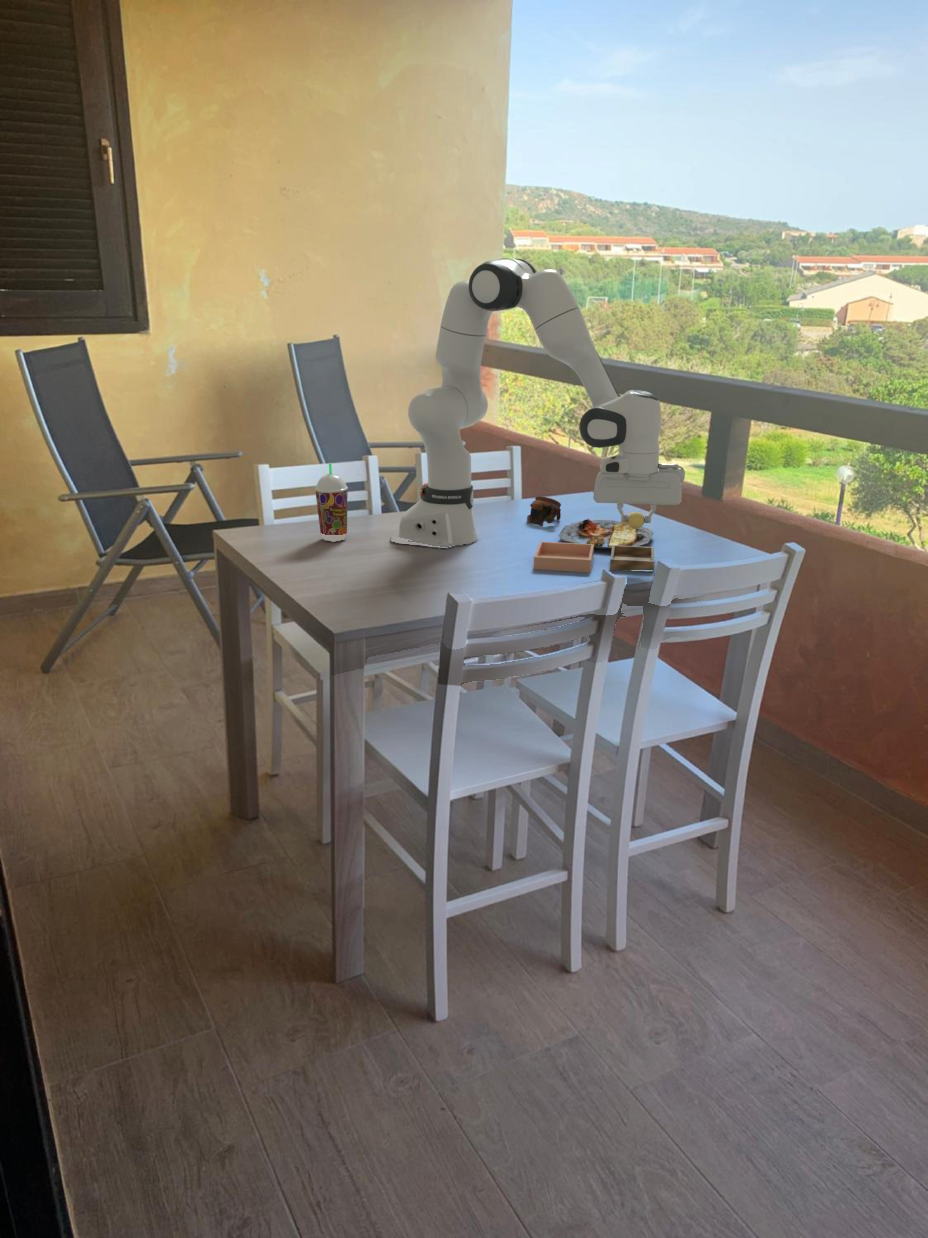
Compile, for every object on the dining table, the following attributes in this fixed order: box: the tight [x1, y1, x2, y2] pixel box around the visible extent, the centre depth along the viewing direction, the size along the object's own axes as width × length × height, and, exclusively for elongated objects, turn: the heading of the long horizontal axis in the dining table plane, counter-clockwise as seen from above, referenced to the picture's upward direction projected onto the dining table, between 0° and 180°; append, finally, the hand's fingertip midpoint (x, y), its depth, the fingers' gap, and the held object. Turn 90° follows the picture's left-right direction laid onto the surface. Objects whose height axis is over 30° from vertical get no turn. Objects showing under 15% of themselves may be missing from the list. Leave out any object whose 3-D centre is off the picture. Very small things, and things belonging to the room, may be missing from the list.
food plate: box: [557, 518, 654, 550], centre depth 237 cm, size 25×23×4 cm
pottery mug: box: [526, 495, 562, 527], centre depth 253 cm, size 12×10×8 cm
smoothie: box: [314, 462, 349, 535], centre depth 235 cm, size 8×8×20 cm
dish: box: [533, 541, 595, 573], centre depth 218 cm, size 13×13×3 cm
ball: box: [627, 511, 645, 529], centre depth 214 cm, size 4×4×4 cm
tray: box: [609, 545, 655, 571], centre depth 218 cm, size 10×12×3 cm
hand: (635, 521), depth 214 cm, fingers closed on ball, 4 cm apart
